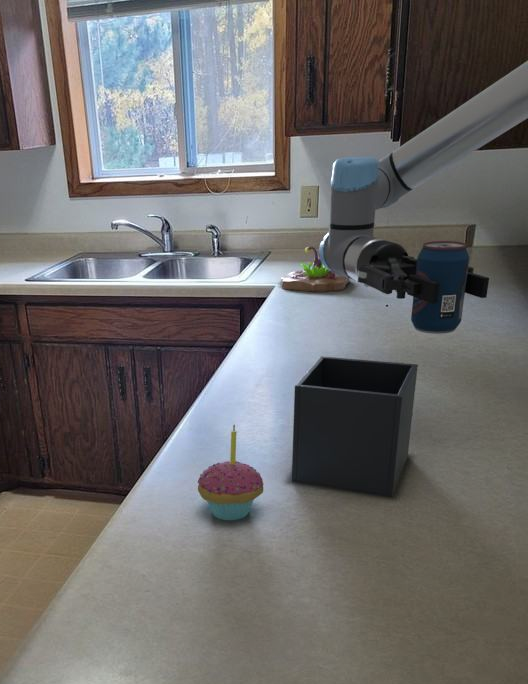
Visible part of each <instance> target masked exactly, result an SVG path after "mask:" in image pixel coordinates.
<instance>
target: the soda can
mask: <svg viewBox="0 0 528 684" xmlns="http://www.w3.org/2000/svg"><path fill="white" fill-rule="evenodd" d="M419 251H420V252H419V253H418V255H417V257H416V259H417V266H416V276H419V277H422V278H425V279H428V280H432V281H435V282H438V283H440V285H439V293H438V302H437V303H434V304H432V303H429V302H427V301H424V300H421V299H419V298H416V297H413V296H412V307H411V314H410V320H411V323H412V325H413V328H414V329H415V330H416V331H418V332H421V333H425V334H426V333H427V334H435V335H437V334H438V335H441V334H442V335H443V334H451V333H453V332H455V331H456V329H457V328H458V327H459V325H460V324H461V323H462V318H463V310H464V302H465V294H466V293H465V288H466V280H467V272H468V267H469V266H470V265H469V264H470V254H469V251H468V250H467V243H465V242H462V241H454V240H433V241H427V242H424V243H422V248H421V250H419Z"/></svg>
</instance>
